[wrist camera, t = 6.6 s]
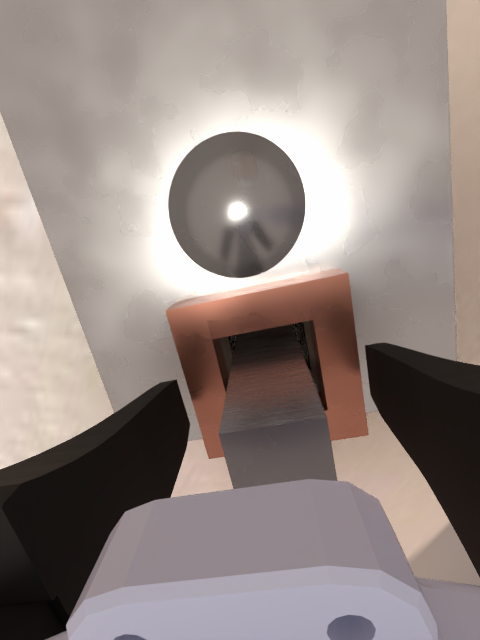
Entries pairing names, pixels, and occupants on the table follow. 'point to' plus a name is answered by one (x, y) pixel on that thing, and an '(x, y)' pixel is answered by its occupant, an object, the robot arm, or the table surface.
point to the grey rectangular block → (273, 414)
